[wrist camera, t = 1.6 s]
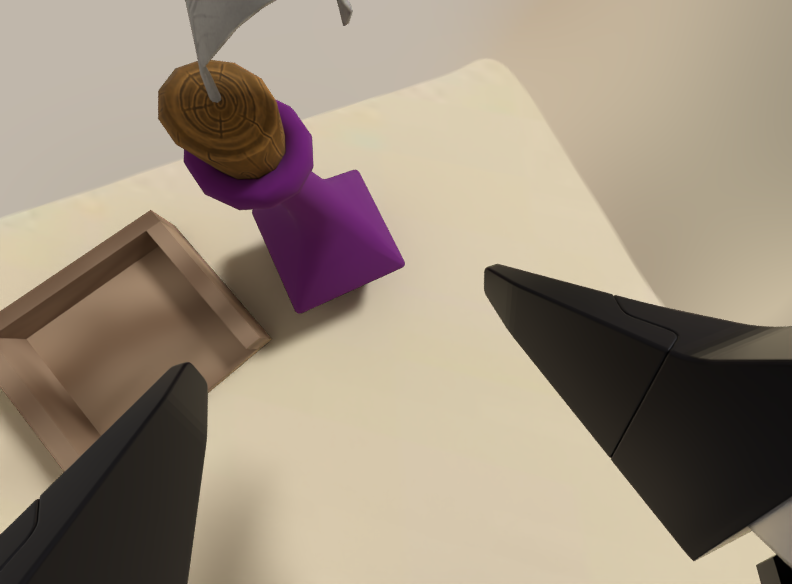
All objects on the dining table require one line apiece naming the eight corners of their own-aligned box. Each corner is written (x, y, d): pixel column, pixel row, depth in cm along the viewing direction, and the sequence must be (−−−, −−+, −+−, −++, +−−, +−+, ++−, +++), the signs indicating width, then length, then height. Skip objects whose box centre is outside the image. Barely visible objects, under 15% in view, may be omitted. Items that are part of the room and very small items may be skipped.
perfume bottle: (307, 320, 22) (51, 192, 4) (266, 229, 23) (-79, -188, 5) (401, 277, 23) (511, 37, 5) (358, 193, 24) (335, -246, 6)
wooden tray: (272, 339, 21) (259, 337, 19) (114, 471, 19) (77, 489, 16) (174, 225, 22) (150, 209, 20) (12, 338, 20) (-38, 336, 17)
